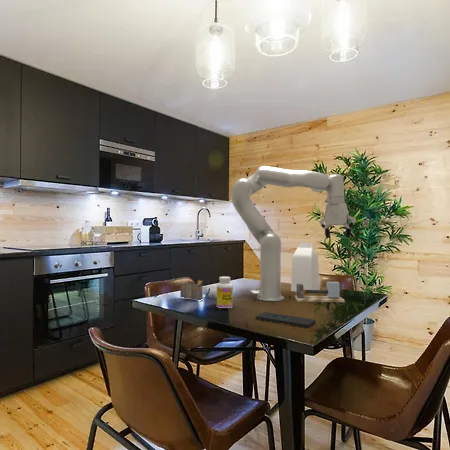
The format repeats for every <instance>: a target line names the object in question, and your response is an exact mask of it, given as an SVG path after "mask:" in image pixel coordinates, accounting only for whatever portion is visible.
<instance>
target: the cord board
mask: <svg viewBox="0 0 450 450" xmlns="http://www.w3.org/2000/svg"><path fill="white" fill-rule="evenodd" d="M339 292H340V295H343V289H342V290H341V289H339ZM311 293H313V294H323V295H306V294H311ZM304 294H305V295H304ZM325 294H326V295H325ZM327 294H328V290H326V289H320V290H305V289H303V285H302V284H297V292H296V295H294V298H295V300H296V302H300V303H301V302H303V303H304V302H305V303H307V302H308V303H309V302H311V303H317V302H318V303H346V302H345V299H344V298H342V297H341V296H340V297H328V296H327Z"/></svg>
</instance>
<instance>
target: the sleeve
mask: <svg viewBox="0 0 450 450" xmlns="http://www.w3.org/2000/svg"><path fill="white" fill-rule="evenodd" d="M325 283H326V289H325V290H328V294H326V296H328V297H341V296H340V295H341V294H340V292H339V290H340V282H339V281H326V282H325Z"/></svg>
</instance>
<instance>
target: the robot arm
mask: <svg viewBox="0 0 450 450" xmlns="http://www.w3.org/2000/svg"><path fill="white" fill-rule="evenodd" d="M344 184H345V183H344V176H343V175H342V174H339V173H337V174H335V173H334V174H330V175H327V174H325V173H323V172H318V171H312V170H305V169H304V170H303V169H302V170H301V169H289V168H282V167H276V166H269V165H261V166H258V168H257V169H256V171H255V173H253V174H251V176H249V177H247V178H245V177H242V178H239V179H237V180H236V181H235V183H234V184H233V187H232V190H231V201H232V204H233V206H234V209H235V210H236V212H237V214H238V216H240V219H242V221H243V222H244V224H245V225H246V227H247V229H248V231H249V232H250V233H251V234H252V236H253V237H254V238H255V240H256V241H257V242H258V244H259V245H260V247H259V249H260V250H259V251H260V254H259V255H260V261H259V263H260V264H259V265H260V267H259V268H260V273H259V275H260V277H259V278H260V279H259V281H260V288H259V289H256V290H255V289H251V290H250V295H257V296H256V299H257V300H260V301H262V300H263V301H264V302H281V301H284V300H285V297H284V296H283V295H282V294H281V293H282V291H281V290H282V289H281V276H282V275H281V273H282V271H281V268H282V267H281V265H282V264H281V263H282V261H281V257H282V256H281V254H282V253H281V252H282V241H281V238H280V235H278V234H277V233H275V231H274V230H273V228H272V227H271V226H270V225H269V223H268V221H267V220H266V218H265V216H264V215H262V213H260V211H259V210H258V208H257V207H256V205H255V204H254V202H252V200H251V197H252V196H253V195H254V194H256V193H257V192H258V191H259V192H260V191H261V190H262V189H264V188H265V187H266V186H268V185H269V186H271V185H272V186H276V187H283V188H295V187H300V188H301V187H302V188H304V187H305V188H309V189H310V190H311V191H312V192H314V193H320V192H325V191H326V193H327V194H326V196H327V197H326V198H327V199H325V200H324V202H325V203H326V205H325V208H324V209H325V211H324V217H323V218H321V219H320V220H319V221H318V222H319V224H320V226H321V227H322V228H323V230H324V234H325V239H330V238H331V229H330V227H331V226H344V227H345V236H346V238H351V236H352V230H351V229H352V228H353V227H354V225H355V223H356V221H357V218H355V217H353V216H351V215H349V210H348V206H347V203H346V202H345V187H344V186H345V185H344ZM350 220H351V221H350ZM263 301H262V302H263Z"/></svg>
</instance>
